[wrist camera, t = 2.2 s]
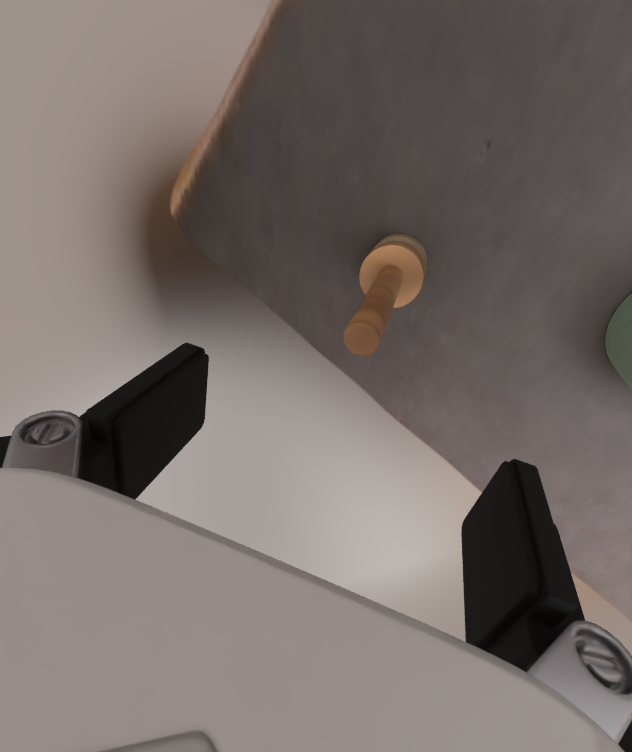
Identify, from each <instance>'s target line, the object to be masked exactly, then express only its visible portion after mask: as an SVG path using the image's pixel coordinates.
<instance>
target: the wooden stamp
mask: <svg viewBox="0 0 632 752" xmlns="http://www.w3.org/2000/svg"><path fill="white" fill-rule="evenodd" d="M426 266H427V256H426V252H425V250H424V248H423V246H422V245H421V244H420V242H419V241H418V240H416V239H415V238H413V237H411V236H409V235H406V234H393V235H390V236H387V237H385V238H384V239H382V240H381V241H380V242H379V243H378V244H377V245H376V246H375V247H374V248H373V250H372V251H371V252H370V253H369V255H368V256H367V257H366V258H365V260H364V261H363V263H362V266H361V269H360V274H359V280H360V285H361V289H362V291H363V293H364V294H365V297H364V299H363V301H362V302H361V304H360V306H359V307H358V309H357V311H356V312H355V314H354V316H353V317H352V319H351V321H350V322H349V324H348V326H347V327H346V329H345V331H344V333H343V342H344V344H345V346H346V348H347V349H348V350H349V351H350V352H351V353H353V354H355V355H358V356H366V355H370V354H372V353H373V352H375V351H376V349H377V348H378V346H379V343H380V341H381V338H382V335H383V333H384V330H385V327H386V325H387V322H388V319H389V317H390V314H391V311H392V309H393V308H398V307H402V306H404V305H406V304H408V303H410V302H411V301H412V300H413V299H414V298H415V297H416V296H417V295H418V293H419V292H420V290H421V288H422V285H423V280H424V276H425V271H426Z"/></svg>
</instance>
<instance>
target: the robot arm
mask: <svg viewBox="0 0 632 752" xmlns="http://www.w3.org/2000/svg"><path fill="white" fill-rule="evenodd" d="M208 362H209V357H208V355H207V354H205V351H204V349H203V348H201V347H198V346H195V345H192V344H189V343H184V344H182V345H181V346H179V347H178V348H177V349H175V350H174V351H172V352H171V353H169V354H168V355H166V356H165V357H164V358H162V359H161V360H159V361H158V362H156V363H155V364H153V365H152V366H150V367H149V368H147V369H146V370H145V371H143V372H142V373H140V374H139V375H138V376H136V377H134V378H133V379H132V380H130V381H129V382H127V383H126V384H124V385H123V386H121V387H120V388H119V389H117V390H116V391H114V392H113V393H111V394H110V395H108V396H107V397H105V398H104V399H102V400H101V401H100V402H98V403H97V404H95V405H94V406H92V407H91V408H89V409H88V410H87V412H86V413H84V414H83V415H81V416H80V417H78V416H77V415H75V414H72V413H71V412H66V411H47V412H41V413H38V414H35V415H32V416H30V417H28V418H26V419H24V420H23V421H21V422H20V423H19V424H18V425H17V426H16V427H15V429H14V431H13V432H12V436H6V437H0V752H632V656H631V654H630V653H629V651H628V650H627V649H626V648H625V647H624V646H623V645H622V644H621V642H620V641H619V640H618V639H616V638H615V637H614V636H613V635H612V634H610V633H609V632H608V631H607V630H605V629H603V628H602V627H600V626H598V625H596V624H594V623H591V622H588V621H585V618H584V615H583V612H582V609H581V605H580V602H579V599H578V595H577V592H576V589H575V585H574V582H573V579H572V575H571V572H570V569H569V565H568V562H567V559H566V556H565V552H564V549H563V546H562V542H561V539H560V536H559V532H558V530H557V527H556V525H555V524H554V523H553V520H552V517H551V513H550V510H549V507H548V503H547V500H546V496H545V493H544V490H543V486H542V483H541V479H540V476H539V473H538V470H537V468H536V467H535V466H533V465H531V464H528V463H525V462H522V461H519V460H516V459H513V460H511V461H510V462H507V461H505V462H503V463H502V464H501V466H500V467H499V469H498V470H497V472H496V473H495V475H494V476H493V478H492V479H491V481H490V482H489V484H488V485H487V487H486V488H485V489H484V491H483V492H482V494H481V495H480V497H479V498H478V500H477V501H476V503H475V504H474V506H473V507H472V509H471V510H470V512H469V513H468V515H467V516H466V518H465V519H464V522H463V525H462V556H463V581H464V604H465V605H464V606H465V631H466V642H464V641H462V640H460V639H458V638H456V637H453V636H451V635H449V634H447V633H444V632H442V631H440V630H438V629H436V628H433V627H431V626H429V625H427V624H424V623H422V622H420V621H418V620H415V619H413V618H411V617H409V616H406V615H404V614H402V613H399V612H397V611H395V610H392V609H390V608H388V607H386V606H383V605H381V604H379V603H376V602H374V601H372V600H369V599H367V598H365V597H363V596H360V595H358V594H356V593H353V592H351V591H349V590H346V589H344V588H342V587H340V586H337V585H335V584H333V583H330V582H328V581H326V580H323V579H321V578H319V577H316V576H314V575H312V574H309V573H307V572H305V571H302V570H300V569H298V568H295V567H293V566H291V565H288V564H286V563H284V562H281V561H279V560H277V559H274V558H272V557H270V556H267V555H265V554H263V553H260V552H258V551H256V550H253V549H251V548H249V547H246V546H244V545H242V544H239V543H237V542H235V541H232V540H230V539H227V538H225V537H223V536H220V535H218V534H216V533H213V532H211V531H209V530H206V529H204V528H201V527H199V526H197V525H194V524H192V523H190V522H187V521H185V520H183V519H180V518H178V517H175V516H173V515H170V514H168V513H166V512H164V511H161V510H159V509H156V508H154V507H152V506H149V505H147V504H144V503H142V502H139V501H137V500H135V499H136V498H137V497H138V496H139V495H140V494H141V493H142V492H143V490H145V488H146V487H147V486H148V485H149V484H150V483H151V482H152V481H153V480H154V479H155V478H156V477H157V475H158V474H159V473H160V472H161V471H162V470H163V469H164V468H165V467H166V466H167V465H168V464H169V463H170V461H171V460H172V459H173V458H174V457H175V456H176V455H177V454H178V453H179V452H180V451H181V450H182V448H183V447H184V446H185V445H186V444H187V443H188V442H189V441H190V440H191V439H192V437H194V435H195V434H196V433H197V432H198V431H199V430H200V429H201V427H202V425H203V423H204V419H205V407H206V391H207V377H208Z"/></svg>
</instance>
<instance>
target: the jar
mask: <svg viewBox="0 0 632 752" xmlns="http://www.w3.org/2000/svg"><path fill="white" fill-rule="evenodd" d="M605 348H606V352H607V356H608V358H609V360H610V362H611V363H612V365H613V367H614V369H615V370H616V371H617V373H618V374H619V375H620V377H621V378H622V379H623V380H624V382H625V383H626V384H627V386H628V387H629V388H630V390H631V391H632V293H631V294H630V295H629V296H628V297H627V298H626V299H625V300H624V301H623V302H622V303H621V304H620V306H619V307H618V308H617V309H616V311H615V313H614V314H613V316H612V318H611V320H610V322H609V324H608V327H607V331H606V337H605Z"/></svg>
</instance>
